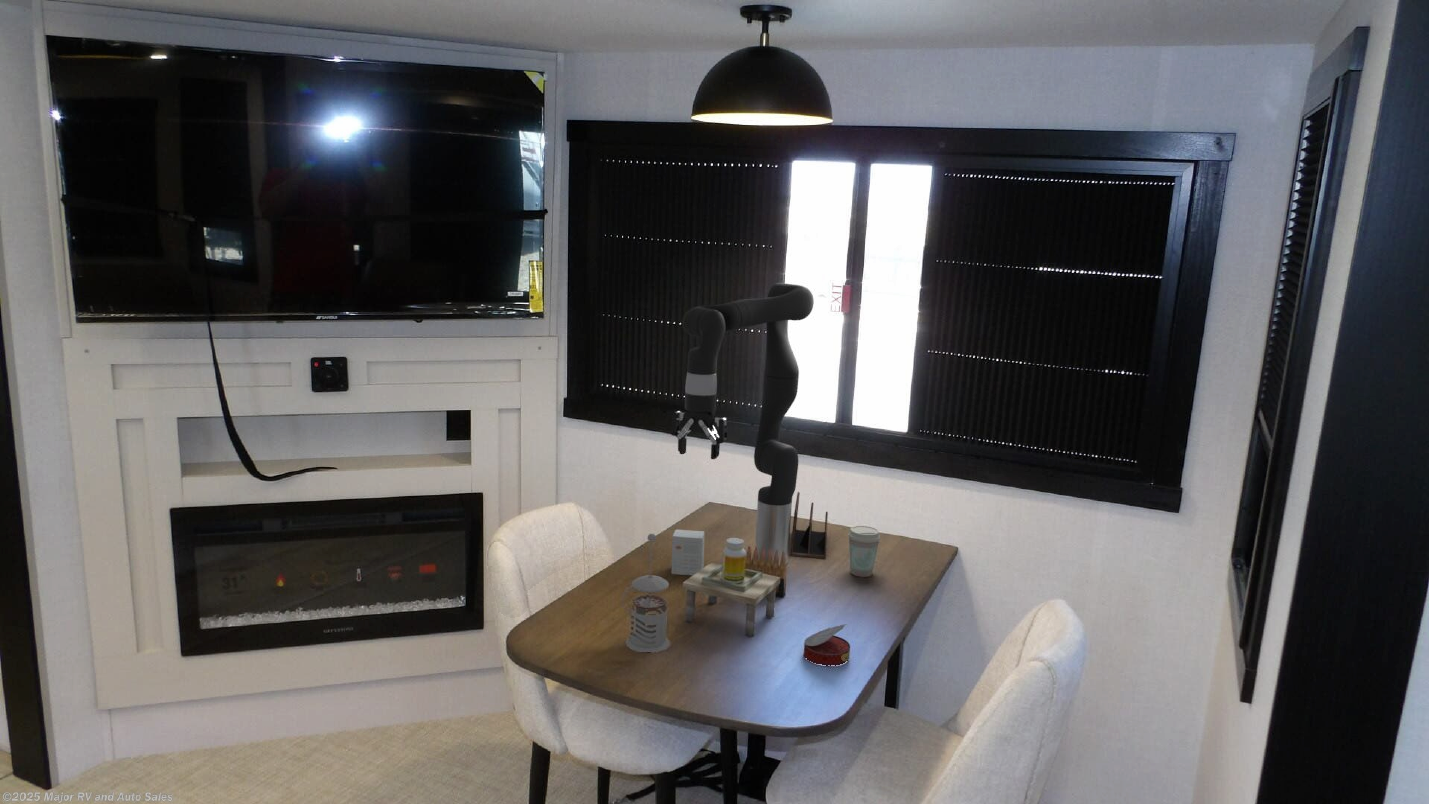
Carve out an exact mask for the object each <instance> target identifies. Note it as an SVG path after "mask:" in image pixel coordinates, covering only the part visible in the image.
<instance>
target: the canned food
mask: <svg viewBox="0 0 1429 804" xmlns="http://www.w3.org/2000/svg"><path fill="white" fill-rule="evenodd" d="M845 626H847V623H846V624H845V623H844V624H840V625H836V626H833V627H828V628H826V629H823V630H820V631H817V632H816V633H814V634H811V635H810V636H807V637H806V638H805V640H804V642H803V657H804V656H805V657H804V659H805V658H807V660H809V661H811V662H813V663H816V664H822V665H826V666H828V665H830V666H831V665H835V666H836V665H840V664H843V663H845V662H846V661H848V659H849V660H850V653H851V644H850V643H849V641H848V640H846V639H844V638H842V637H841V636H840V637H839V636H837V635H835V634H837V633H838V632H840V631H842V630H843V629H844V628H845ZM807 660H806V661H807ZM809 661H808V662H809ZM811 662H810V663H811ZM848 662H849V661H848ZM813 663H812V664H813Z"/></svg>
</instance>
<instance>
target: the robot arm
mask: <svg viewBox="0 0 1429 804" xmlns="http://www.w3.org/2000/svg"><path fill="white" fill-rule="evenodd" d="M814 301H815V300H814V296H813V293H812V291H811V290H810V289H809V288H808V287H806V286H804V285H800V284H792V283H783V282H777V283H775V284H773V285H771V286H770V289H769V290H768V292H767V297H765V298H764V297H763V298H759V297H758V298H745V299H739V300H734V301H730V302H726V303H722V304H713V305H712V304H711V305H710V304H709V305H700V306H699V305H698V306H694V307H692V308H690V309H689V310H687V311H686V312H685V314H684V315H683V317H682V328H683V331H685V333H686V334H688V335H689V336H692V337H696V338H700V339H701V340H700V343H699V346H697V347H692V348H690V349H689V351H688V353H687V368H686V369H687V370H686V371H687V372H686V377H685V387H684V389H685V391H684V392H685V394H684V398H685V399H684V412H682V411H681V410H677V411H676V410H675V411H674V412H673V413H672V418H671V427H670V428H671V429H670V434H671V436H674V437H676V438H677V451H678V452H679V455H684V454H686V453H687V439H688V438H687V436H688V434H689V433H690V432H692V433H699V434H705V435H706V437H707V438H709V440H710V442H711V443H712V444H711V449H710V459H711V460H716V459H717V458H719V455H720V446H721V444H723V443H725V442H727V441H728V434H729V433H728V431H729V430H728V418H727V417H726V416H723V417H717V416H716V408H717V389H718V388H717V387H718V383H717V382H718V379H717V369H718V367H717V363H718V355H719V352H720V349H721V346H722V343H723V339H724V336H725V332H727V333H729V332H734V331H738V330H742V329H747V328H751V327H755V326H757V325H764V324H766V338H765V339H766V341H765V342H766V343H765V359H764V361H765V362H764V369H763V371H764V372H763V378H762V380H763V381H762V396H761V406H760V408H761V409H760V416H759V417H760V419H759V424H758V429H757V435H756V442H755V446H754V454H753V461H754V463H753V464H754V465H755V468H756V470H757V471H759V472H760V473H762V474H765V475H768V476H771V480H770V485H767V486H763V487H760V488H759V490H758V492H757V508H756V524H755V525H756V526H755V539H754V540H755V544H754V548H755V547H757V549H758V562H759V563H760V556H761V551H762V548H764V550H765V564H766V563H767V555H768V551H769V549H771V552H772V568H773V563H774V555H775V552H776V550H778V554H779V567H780V562H781V556H782V552H783V551H784V552H785V556H786V565H787V564H788V563H789V555H790V553H789V551H790V538H791V537H790V535H791V523H792V522H791V521H792V520H791V519H792V507H793V505H792V502H793V496H794V494H795V491H796V489H797V488H796V487H797V479H798V470H799V454H798V451H797V449H796V448H795V447H794V446H792V445H790V444H787V443H783V442H780V433H781V432H780V431H781V425H782V421H783V419H784V417H785V416H786V414H787V412H789V410H790V408H791V407H792V405H793V403H794V402H795V400H796V398H797V395H798V388H799V379H800V370H799V365H798V362H797V359H796V357H795V354H794V351H793V349H792V346H791V344H790V341H789V332H788V330H789V321H801V320H804V319H806V318H807V317H808V316H810V314H811V313H812V312H813V311H812V310H813V308H814V303H815V302H814ZM683 420H684V422H685V425H684V426H683V427H682V428H681V422H682V421H683ZM715 424H716V426H717V427H718V431H717V429H716V427H715V426H714V425H715Z"/></svg>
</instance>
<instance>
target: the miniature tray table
mask: <svg viewBox="0 0 1429 804" xmlns="http://www.w3.org/2000/svg"><path fill="white" fill-rule="evenodd" d="M762 573H763V572H759V570H758V571H753V570H752V569H751V570H749V569H745V578H744V581H743V582H741V583H738V584H734V583H729V582H725V581H723V580H722V563H714V562H710V563H709V564H707V565H706V566H704V567H703V569H702V570H700V571H699V572H697V573H696V574H694V575H691V576H690V577H689V578H687V579H686V580H684V581H683V582H682V589H683V590H686V607H685V622H687V623H694V622H695V615H696V613H695V612H696V593H700V594H703V595H708V599H707V601H708V604H710V605H717V600H718V599H717V598H721V599H725V600H729V601H734V602H737V603H743V604H746V612H745V628H744V629H745V630H744V631H745V632H744V636H745V637H746V638H753V637H754V636H755V626H756V625H755V624H756V623H755V622H756V621H755V620H756V605H757V604H758V603H760V602H761V601H762V600H763V599H764V598H765V597H766V603H765V617H766V618H768V619H773V618H775V607H776V606H775V605H776V604H775V603H776V597H775V592H776V587H777V586H778V585H779V584H780V577H776V576H771V575H767V574H762ZM766 595H767V596H766Z"/></svg>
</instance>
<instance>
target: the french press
mask: <svg viewBox="0 0 1429 804" xmlns="http://www.w3.org/2000/svg"><path fill="white" fill-rule="evenodd" d="M647 540H648V541H651V543H650V568H649V574H648V575H647V574H646V575H643V576H639V577H636V578H635V579H633V580H632V582H631V586H628V587H626V588H625V590H624V591H623V594H622V595H621V596H622V597H621V598H622V601H621V602H622V607H623V611H624V612H625V613H626V615H627V616H628V617H629V618H630V636H629V637H628V638H627V639H626V641H625V645H626V647H627V648H628V647H629V648H628V649H630V650H631V651H634V650H635V651H634V652H637V653H641V652H656V653H660V652H659V651H661V652H663V651H665V650H668V648H670V646H671V641H670V639H669V638H668V637H667V619H668V618H667V616H668V614H667V613H668V606H667V605H666V604H667V601H666V599H665V598H664V597H661V596H660V595H654V594H655V593H661V592H663V591H666V590H667V589H668V588H669V586H670V583H669V582H668V580H667V579H665V578H663V577H661V576H658V575H653V574H652V559H653V541H656V540H657V536H656V534H655V533H649V534H648V535H647ZM631 588H632V592H633V593H636V592H642V593H643V592H644V593H649V594H644V595H639V596H636V597H635V598H634V599H633V600H632V604H633V605H630V604H629V593H630V590H631ZM626 592H627V593H626ZM651 593H653V594H651ZM625 594H626V602H627V606H628V610H629V611H630V612H631V615H630V614H629V612H628V611H627V610H626V608H625V604H624V597H625ZM630 606H631V607H630ZM635 608H636V609H635ZM660 609H661V610H660ZM650 612H655V613H650ZM647 613H648V614H647ZM649 613H650V614H649ZM656 613H658V614H656ZM634 623H635V624H634ZM634 629H635V630H634ZM669 645H670V646H669ZM667 647H668V648H667ZM662 650H663V651H662Z"/></svg>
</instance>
